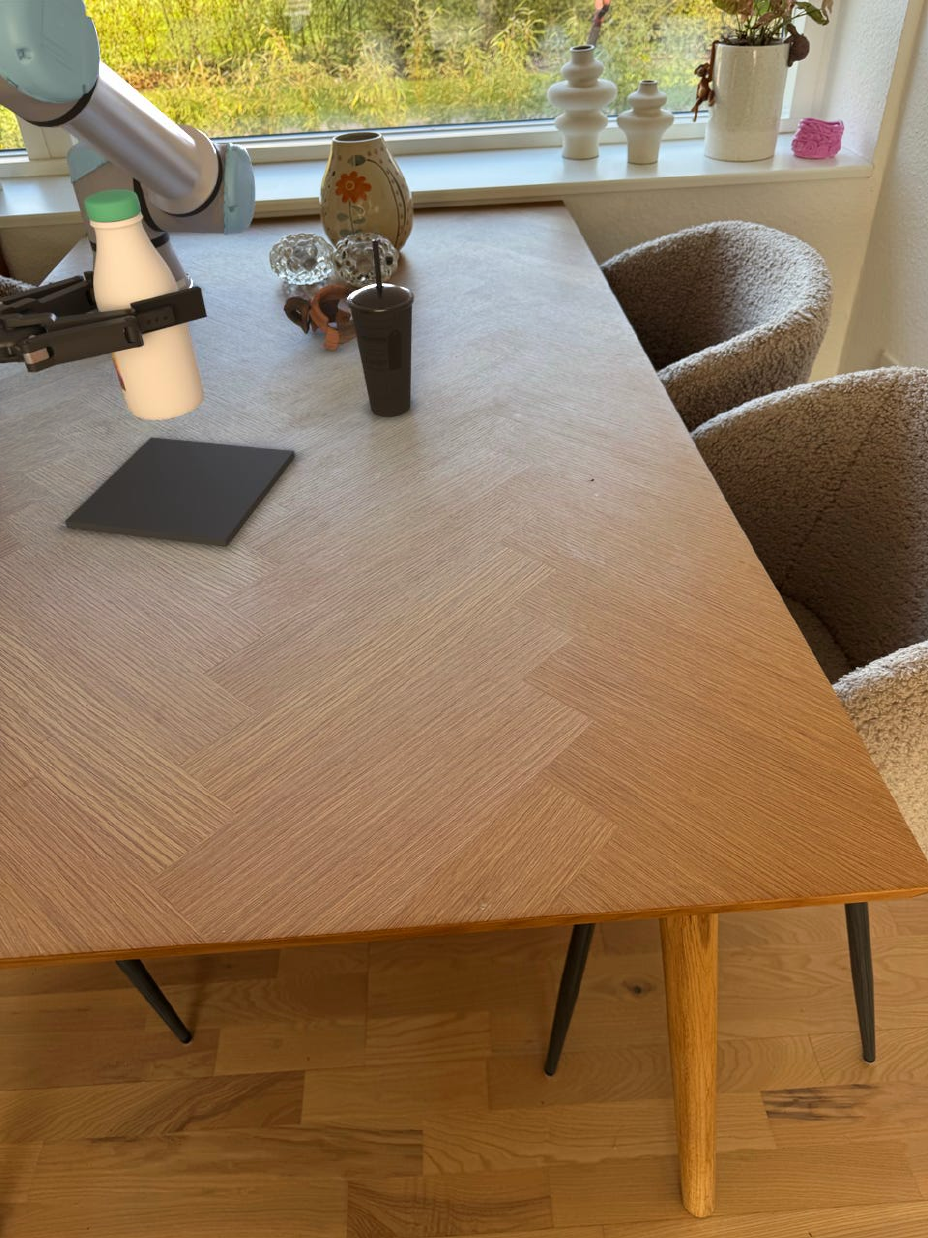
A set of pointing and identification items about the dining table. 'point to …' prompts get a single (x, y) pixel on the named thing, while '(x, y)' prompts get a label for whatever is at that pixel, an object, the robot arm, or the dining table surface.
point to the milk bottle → (132, 272)
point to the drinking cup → (384, 341)
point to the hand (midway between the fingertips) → (184, 289)
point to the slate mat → (183, 491)
